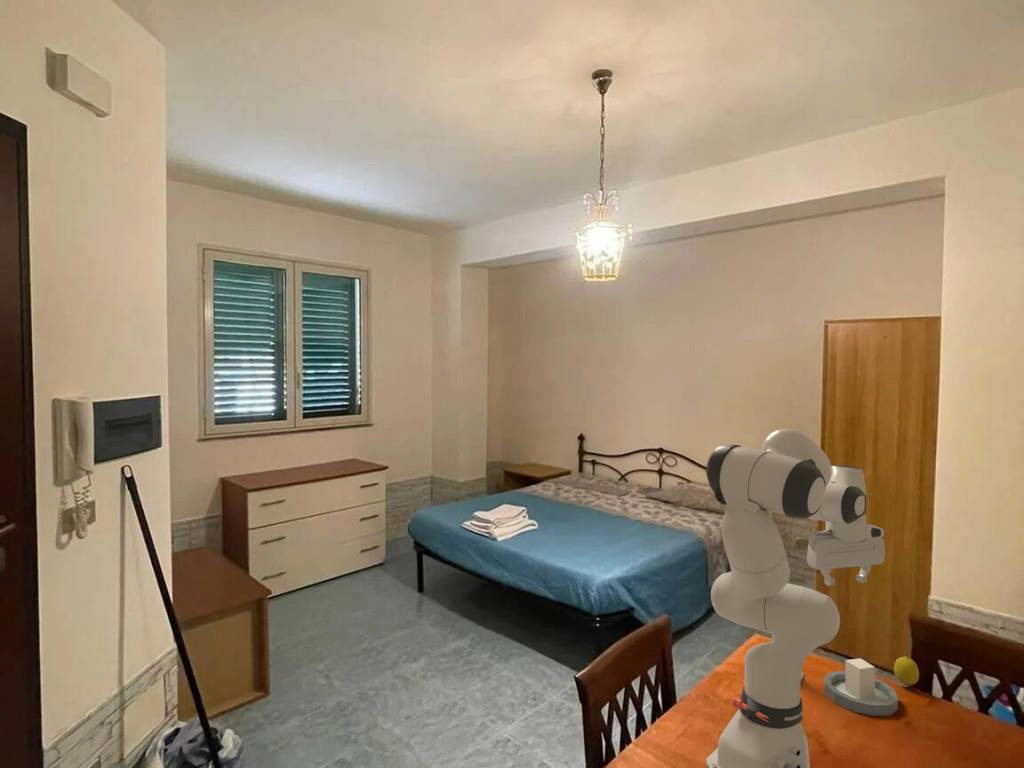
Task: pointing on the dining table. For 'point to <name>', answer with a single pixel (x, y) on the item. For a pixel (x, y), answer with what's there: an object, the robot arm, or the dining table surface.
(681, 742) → the dining table surface
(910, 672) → the lemon
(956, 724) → the dining table surface
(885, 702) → the dish
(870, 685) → the block
